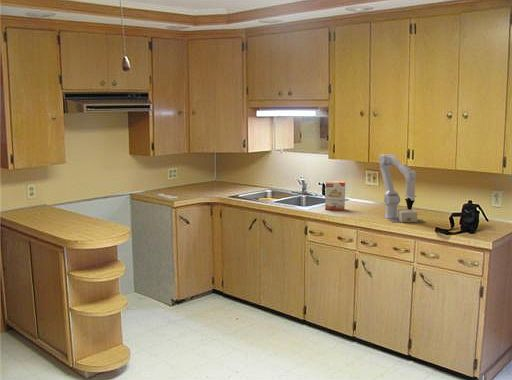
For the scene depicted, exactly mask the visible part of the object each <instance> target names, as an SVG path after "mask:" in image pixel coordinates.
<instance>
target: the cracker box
mask: <svg viewBox="0 0 512 380" xmlns="http://www.w3.org/2000/svg"><path fill="white" fill-rule="evenodd" d="M324 202H325V204H324V205H325V206H324V209H325V210H332V211H333V210H334V211H345V205H346V203H345V202H346V181H339V180H338V181H336V180H327V181H326V182H325V201H324Z"/></svg>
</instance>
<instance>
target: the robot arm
mask: <svg viewBox="0 0 512 380" xmlns="http://www.w3.org/2000/svg"><path fill="white" fill-rule="evenodd" d="M378 163H379V166H380V168H379V169H380V172H381V176H382V180H383V184H384V188H385V193H384V194H383V198H384V199H383V202H384V204H385V205H386V206H385V214H384V215H383V216H384V217H385V218H386V219H398V206H399V204H400V203H401V198H400V195H399V193H398V192H397V191H396V190H395V189H394V184H393V180H392V175H391V172H390V168H391V167H392V166H393V165H394V166H395V167H396V168H397V169H398V171H399V172H400V174H402V175H403V176H404V178H405V179H404V181H405V195H404V197H405V199H404V201H405V203H406V208H407V209H408V210H411V209H412V208H413V205H414V203H415V201H416V200H415V198H417V195H415V193H416V190H415V189H416V179H418V173H417V171H416V170H413V169H412V168H410V167H408V165H407V164H402V162H400V160H399V159H398V158H397V156H396V155H395V154H393V153H389V154H388V153H387V154H380V155H379V157H378Z"/></svg>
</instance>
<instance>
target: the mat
mask: <svg viewBox="0 0 512 380" xmlns="http://www.w3.org/2000/svg"><path fill="white" fill-rule="evenodd" d="M389 221H390V222H392V223H402V222H401V221H400V220H399V219H389ZM416 223H426V221H425V220H423V219H420V218H419V219H418V218H417V222H416Z"/></svg>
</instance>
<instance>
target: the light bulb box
mask: <svg viewBox="0 0 512 380" xmlns="http://www.w3.org/2000/svg"><path fill="white" fill-rule="evenodd" d="M397 217H398V219H399V220H400V221H401V222H400V223H418V222H417V219H418V212H417V211H416V210H414V209H411V210H408V209H406V208H405V209H403V208H402V209H401V208H400V209H397Z"/></svg>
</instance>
